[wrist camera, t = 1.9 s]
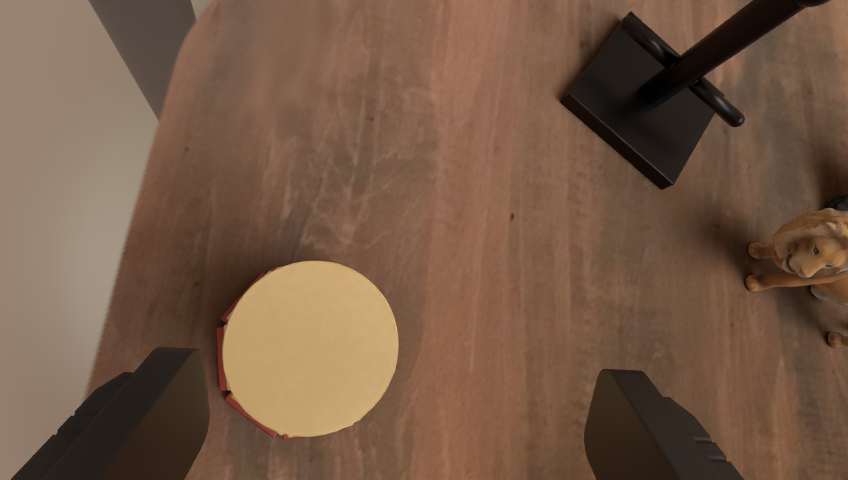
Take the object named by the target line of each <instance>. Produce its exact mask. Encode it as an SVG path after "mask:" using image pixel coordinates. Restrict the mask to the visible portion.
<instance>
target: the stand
mask: <svg viewBox="0 0 848 480" xmlns="http://www.w3.org/2000/svg"><path fill="white" fill-rule="evenodd" d="M828 1H830V0H753V1H752V2H750V3H749V4H748V5H746V6H745V7H744V8H742V9H741V10H740V11H738V12H737V13H736V14H734V15H733V16H732V17H731V18H729V19H728V20H727V21H725V22H724V23H723V24H721V25H720V26H719V27H717V28H716V29H715V30H713V31H712V32H711V33H709V34H708V35H707V36H706V37H704V38H703V39H702V40H700V41H699V42H698V43H696V44H695V45H694V46H692V47H691V48H690V49H688V50H687V51H686V52H685V53H683V54H682V55H681V56H680V55H679V54H678V53H677V52H676V51H674V50H673V49H672V48H671V47H670V46H669V45H668V44H667V43H666V42H664V41H663V40H662V39H661V38H660V37H659V36H658V35H657V34H655V33H654V32H653V31H652V30H651V29H650V28H649V27H648V26H647V25H645V24H644V23H643V22H642V21H641V20H640V19H639V18H638V17H636V16H635V15H634V14H633V13H632V12H629V13H628V14H627V15H626V16H625V17H624V18H623V19H622V20H621V22H620V23H619V24H618V26H617V27H616V28H615V30H614V31H613V32H612V33H611V35H610V36H609V37H608V39H607V40H606V41H605V43H604V44H603V45H602V47H601V48H600V49H599V51H598V52H597V53H596V55H595V56H594V57H593V59H592V60H591V61H590V63H589V64H588V65H587V67H586V68H585V69H584V71H583V72H582V73H581V75H580V76H579V77H578V79H577V80H576V81H575V83H574V84H573V85H572V87H571V88H570V89H569V91H568V92H567V93H566V95H565V96H564V97H563V99H562V100H561V103H562V104H564V105H565V106H566V107H567V108H568V109H569V110H570V111H572V112H573V113H574V114H575V115H576V116H577V117H579V118H580V119H581V120H582V121H583V122H584V123H585V124H587V125H588V126H589V127H590V128H591V129H592V130H594V131H595V132H596V133H597V134H598V135H599V136H600V137H602V138H603V139H604V140H605V141H606V142H607V143H609V144H610V145H611V146H612V147H613V148H614V149H615V150H617V151H618V152H619V153H620V154H621V155H622V156H623V157H625V158H626V159H627V160H628V161H629V162H630V163H632V164H633V165H634V166H635V167H636V168H637V169H638V170H640V171H641V172H642V173H643V174H644V175H645V176H647V177H648V178H649V179H650V180H651V181H652V182H653V183H655V184H656V185H657V186H658V187H659V188H660V189H665V188H667V187H669V186H671V185H674V183H675V181H676V180H677V178H678V176H679V174H680V173H681V171H682V169H683V167H684V166H685V164H686V162H687V160H688V159H689V157H690V155H691V153H692V152H693V150H694V148H695V147H696V145H697V143H698V141H699V140H700V138H701V136H702V134H703V133H704V131H705V129H706V127H707V126H708V124H709V122H710V120H711V119H712V117H713V115H714V114H715V113H716V114H717V115H719V116H720V117H721V118H722V119H723V120H724V121H725V122H726V123H728V124H729V125H730V126H732V127H739V126H741V125H742V124H743V123H744V121H745V117H744V115H743V114H742V113H741V112H740V111H739V110H738V109H736V108H735V107H734V106H733V105H732V104H731V103H730V102H729V101H728V100H726V99H725V98H724V94H722V93H721V92H720V91H719V90H718V89H717V88H716V87H715V86H713V85H712V84H711V83H710V82H709V81H708V80H707V79H706V78H705V77H703V76H704V75H706V74H707V73H709V72H710V71H712V70H713V69H715V68H716V67H718V66H719V65H721V64H722V63H724V62H725V61H727V60H728V59H730V58H731V57H733V56H734V55H736V54H737V53H739V52H740V51H742V50H743V49H745V48H746V47H748V46H749V45H750V44H752V43H753V42H755V41H756V40H758V39H759V38H761V37H762V36H764V35H765V34H767V33H768V32H770V31H771V30H773V29H774V28H776V27H777V26H779V25H780V24H782V23H783V22H785V21H786V20H788V19H789V18H791V17H792V16H794V15H795V14H797V13H798V12H800V11H801V10H803V9H804V8H806V7H814V6H818V5H821V4H824V3H826V2H828Z"/></svg>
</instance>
